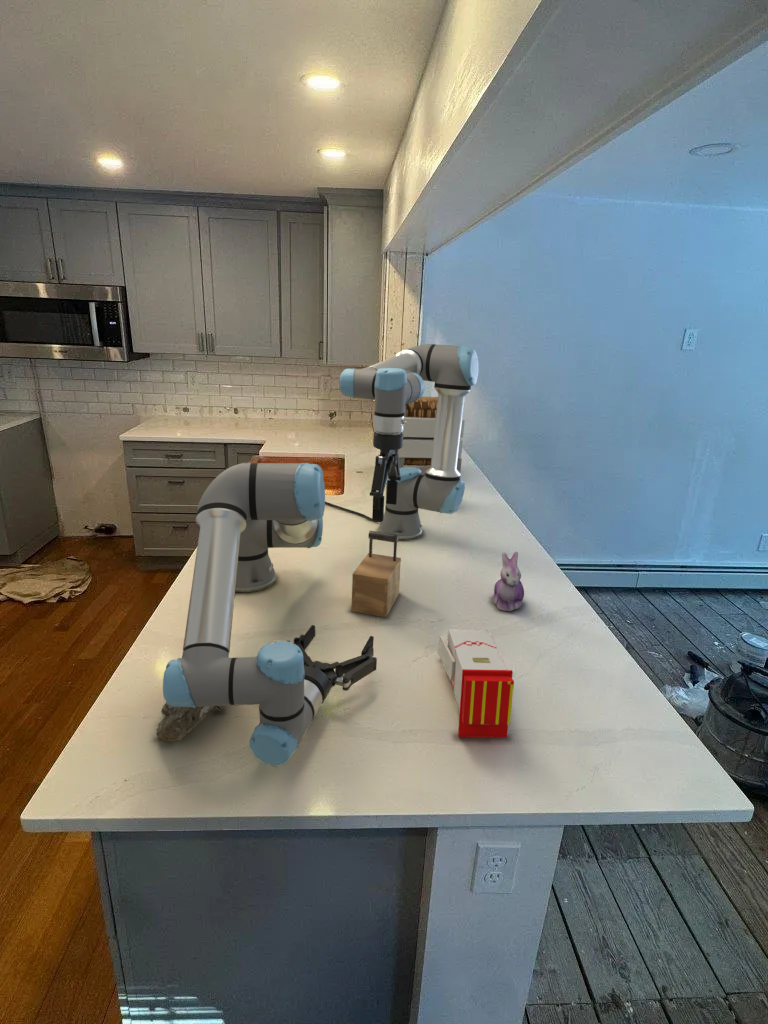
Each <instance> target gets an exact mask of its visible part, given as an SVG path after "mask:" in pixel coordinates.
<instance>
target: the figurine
mask: <svg viewBox="0 0 768 1024" xmlns="http://www.w3.org/2000/svg"><path fill="white" fill-rule="evenodd" d="M501 558H502V559H501V560H502V568H501V570H500V574H499V575H500V579H498V580H497V581H496V582H495V584H494V588H493V598H492V600H493V604H494V605H495V606H496V607H497V609H498V610H500V611H504V612H505V611H506V612H512V611H513V610H518V609H519V608H521V605H522V604H523V601H524V598H525V589H524V585H523V583H522V581H521V578H522V573H521V570H520V568H519V566H518V560H519V552H518V551H515V552H514V553H513V554H512V556H511V558H509V557H508V555H507V553H506V552H505V551H503V552H502V553H501Z"/></svg>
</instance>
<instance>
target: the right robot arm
mask: <svg viewBox="0 0 768 1024" xmlns="http://www.w3.org/2000/svg"><path fill="white" fill-rule="evenodd" d="M479 372H480V367H479V358H478V354H477V351H476V350H475V349H474V348H473V347H470V346H464V345H451V344H450V345H449V344H436V343H435V344H434V343H425V344H424V343H423V344H419V345H415V346H412V347H408V348H405V349H402V350H400V351H399V352H397V353H396V355H395V356H393V357H391V358H388V359H386V360H383V361H380V362H377V363H375V364H372V365H370V366H367V367H363V368H355V367H352V368H345V369H344V370H342V372H341V374H340V376H339V383H338V384H339V390H340V392H341V393H340V394H342V396H345V397H349V398H353V399H364V400H373V401H374V413H373V431H374V432H373V436H372V437H373V438H372V446H373V447H374V448H375V449H378V450H379V454H378V455H375V461H374V470H373V476H372V481H371V482H372V483H371V488H370V491H369V496H370V497H372V513H371V514H372V515H371V517H370V516H368V515H366V514H363V513H361V512H359V511H355V510H352V509H348V508H346V507H342V506H340V505H337V504H334V503H330V502H327V501H325V505H326V506H329V507H332V508H336V509H339V510H342V511H345V512H347V513H350V514H354V515H357V516H360V517H362V518H365V519H367V520H368V521H371V522H373V523H379V526H378V532H383V533H390V534H397V535H398V536H399V538H398V541H410V540H415V539H418V538H420V537H421V536H422V535H423V525H422V524H421V518H420V515H419V509H420V510H424V511H430V512H436V513H440V514H449V515H452V514H454V513H456V512H457V511H458V509H459V508H460V506H461V503H462V502H463V497H464V495H465V490H466V483H465V481H463V480H462V479H461V474H460V473H459V472H458V470H457V461H458V452H459V443H460V439H461V438H460V435H461V426H462V419H463V418H464V408H465V400H466V396H467V395H468V394H469V393H471V389H472V387H474V386H476V385H477V383H478V378H479ZM425 382H432V383H434V386H433V387H434V390H435V391H436V393H437V397H438V402H437V412H436V422H435V431H434V441H433V451H432V460H431V465H430V466H429V468H427V469H426V470H425V474H422V470H421V468H419V467H416V466H406V467H405V466H404V467H403V468H399V455H398V449H401V448H402V447H403V434H402V433H401V432H402V431H403V428H404V424H406V420H404V412H405V404H407V403H412V402H414V401H416V400H417V399H419V398H420V397H423V395H424V393H425V390H426V389H425V388H426V385H425ZM384 492H385V493H384ZM384 494H385V495H384Z"/></svg>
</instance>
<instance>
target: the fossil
mask: <svg viewBox="0 0 768 1024" xmlns="http://www.w3.org/2000/svg"><path fill="white" fill-rule="evenodd" d="M213 707H215V708H216V709H217V711H221V710H222V707H220V706H205V707H196V708H193V707H172V706H169V705H168V704H167V703H166V702H165V703H164V704H163V705H162V707H161V710H160V712H161V714H162V715H163V718H162V719H161V721H159V722H158V723H157V728H156V732H155V733H156V736H157V740H162V741H163V742H164V743H170V742H174V741H181V740H182V739H183V738H184V737H185V736H186V735H187V734H188V733H189V732H191V731H192V730H193V729H194V728H195V727H196V726H197V725H198V724H199V723H200V722H201V721H202V720H203V719H205V718H206V716H207V715H208V712H209V711H210V710H212V709H213Z"/></svg>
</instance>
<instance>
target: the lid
mask: <svg viewBox="0 0 768 1024" xmlns="http://www.w3.org/2000/svg"><path fill="white" fill-rule="evenodd" d="M367 538H368V539H369V541H368V542H369V545H368V552H367V554H366V555H365V556H364V557H363V559H362V561H361V562H360V563H359V565H358V566H357V567H356V568H355V569H354V571H353V572H352V578H359V579H365V580H371V581H377V582H383V583H388V582H389V581H390V579H391V577H392V576H393V574H394V572H395V571H396V569H397V567H398V566H399V564H400V562H401V563H402V557H398V556H397V554H398V553H397V551H398V550H397V549H398V542H399V540H398V538H399V536H398V535H397V534H390V533H383V532H379V531H376V530H375V531H374V530H369V532H368V537H367ZM374 540H375V541H382V542H389V543H393V555H392V556H390V555H384V554H378V553H373V544H374V543H373V541H374Z"/></svg>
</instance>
